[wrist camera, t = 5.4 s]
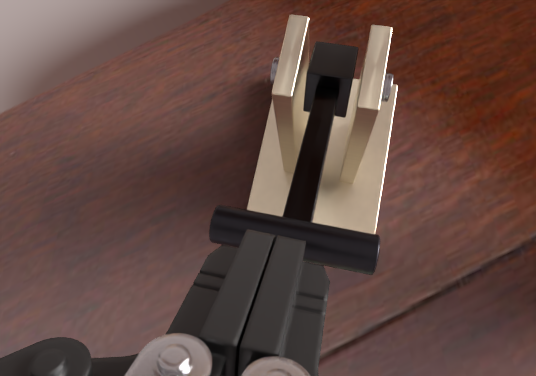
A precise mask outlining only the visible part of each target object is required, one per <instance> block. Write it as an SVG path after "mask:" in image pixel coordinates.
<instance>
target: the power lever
mask: <svg viewBox="0 0 536 376" xmlns="http://www.w3.org/2000/svg"><path fill="white" fill-rule="evenodd" d="M357 54H358V47H354V46H346V45H339V44H332V43H324V42H316V43H315V46H314V49H313V52H312V56H311V59H310V63H309V66H308V69H307V73H306V84H305V95H304V105H303V111H305V112H310V113H309V117H308V121H307V125H306V129H305V133H304V136H303V140H302V144H301V148H300V152H299V155H298V159H297V163H296V167H295V171H294V174H293V178H292V182H291V186H290V190H289V193H288V197H287V201H286V205H285V209H284V213H283V216H277V215H272V214H266V213H261V212H256V211H251V210H246V209H240V208H235V207H230V206H225V205H218V206H217V207H216V208H215V210H214V213H213V215H212V219H211V223H210V230H209V237H210V241H211V242H212V243H217V244H222V245H227V246H232V247H237V248H239V246H240V243H241V241H242V239H243V237H244V235H245V232H246V231H247V229H249V230H253V231H258V232H263V233H268V234H273V235H276V238H277V236H278V235H279V236H284V237H289V238H293V239H298V240H303V241H306V246H305V252H304V258H303V261H305V262H310V263H315V264H320V265H325V266H330V267H334V268H339V269H344V270H349V271H354V272H359V273H364V274H369V275H373V273H374V272H375V269H376V266H377V261H378V256H379V250H380V237H379V235H376V234H371V233H365V232H360V231H355V230H350V229H345V228H339V227H334V226H329V225H324V224H319V223H313V218H314V214H315V209H316V204H317V199H318V194H319V189H320V184H321V179H322V174H323V170H324V165H325V160H326V155H327V150H328V145H329V140H330V135H331V130H332V126H333V121H334V116H337V117H343V118H345V117H346V114H347V108H348V103H349V98H350V93H351V87H352V82H353V77H354V71H355V65H356V60H357Z"/></svg>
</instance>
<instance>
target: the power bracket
mask: <svg viewBox="0 0 536 376" xmlns="http://www.w3.org/2000/svg"><path fill="white" fill-rule="evenodd" d="M391 35H392V27H386V26H378V25H372V26H371V30H370V34H369V39H368V43H367V48H366V52H365V57H364V61H363V66H362V70H361V75H360V79H353V82H352V87H351V93H350V98H349V103H348V108H347V114H346V117H345V118H343V117H337V116H334V121H333V126H332V130H331V135H330V140H329V145H328V150H327V155H326V160H325V165H324V170H323V174H322V179H321V184H320V189H319V194H318V199H317V204H316V209H315V214H314V218H313V223H319V224H324V225H329V226H334V227H339V228H345V229H350V230H355V231H360V232H365V233H371V234H375V233H376V226H377V220H378V213H379V207H380V200H381V194H382V187H383V180H384V174H385V167H386V161H387V154H388V148H389V141H390V134H391V128H392V121H393V115H394V108H395V102H396V95H397V88H398V85H394V84H392V83H393V74H391V73H385V72H386V66H387V59H388V53H389V47H390V41H391ZM308 66H309V17H306V16H298V15H290V16H289V20H288V24H287V28H286V33H285V37H284V41H283V45H282V50H281V54H280V58H278V57H275V58H274V60H273V63H272V67H271V74H270V82H271V84H272V85H273V88H272V102H271V106H270V111H269V115H268V119H267V124H266V128H265V132H264V137H263V141H262V145H261V150H260V154H259V158H258V162H257V167H256V171H255V175H254V180H253V184H252V188H251V193H250V197H249V201H248V206H247V210H251V211H256V212H261V213H266V214H272V215H277V216H283V213H284V209H285V205H286V201H287V197H288V193H289V190H290V186H291V182H292V178H293V174H294V171H295V167H296V163H297V159H298V155H299V152H300V148H301V144H302V140H303V136H304V133H305V129H306V125H307V121H308V117H309V113H310V112H305V111H303V105H304V95H305V84H306V73H307V69H308Z"/></svg>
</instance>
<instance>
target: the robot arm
mask: <svg viewBox="0 0 536 376" xmlns="http://www.w3.org/2000/svg"><path fill="white" fill-rule="evenodd" d="M305 246H306V241H303V240H298V239H293V238H289V237H284V236H279V235H278V236H277V238H276V235H273V234H268V233H263V232H258V231H253V230H249V229H247V231H246V232H245V235H244V237H243V239H242V241H241V243H240V246H239V248H236V247H231V246H227V245H222V246H220V247H219V248H218V249H216V250H215V251H214V252H212V253H211V254H210V255H208V257H207V259H206V260H205V262H204V264H203V266H202V268H201V270H200V273H198V275H197V277H196V279H195V281H194V284H193V286H192V287H191V288H190V290H189V292H188V294H187V296H186V298H185V300H184V301H183V303H182V305H181V307H180V309H179V311H178V313H177V315H176V316H175V318H174V320H173V322H172V324H171V326H170V328H169V330H168V331H167V333H166V334H165V335H163V336H160V337H158V338H156V339H154V340H153V341H151V342H150V343H148V344H147V345H146V346H145V347H144V348H143V349H142V351H141V352H140V353H139V354H136V355H131V356H125V357H109V358H91V356H90V353H89V350H88V349H87V347H86V346H85V345H84V344H83V343H81V342H79V341H78V340H75V339H72V338H66V337H57V338H50V339H46V340H43V341H40V342H37V343H35V344H33V345H30V346H28V347H26V348H23V349H21V350H19V351H16V352H14V353H12V354H10V355H7V356H5V357H3V358H0V376H318V365H319V358H320V351H321V343H322V336H323V328H324V321H325V313H326V306H327V299H328V291H329V284H330V281H329V278H328V276H327V274H326V271H325V269H324V266H323V265H318V264H313V263H308V262H304V261H303V258H304V252H305Z"/></svg>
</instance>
